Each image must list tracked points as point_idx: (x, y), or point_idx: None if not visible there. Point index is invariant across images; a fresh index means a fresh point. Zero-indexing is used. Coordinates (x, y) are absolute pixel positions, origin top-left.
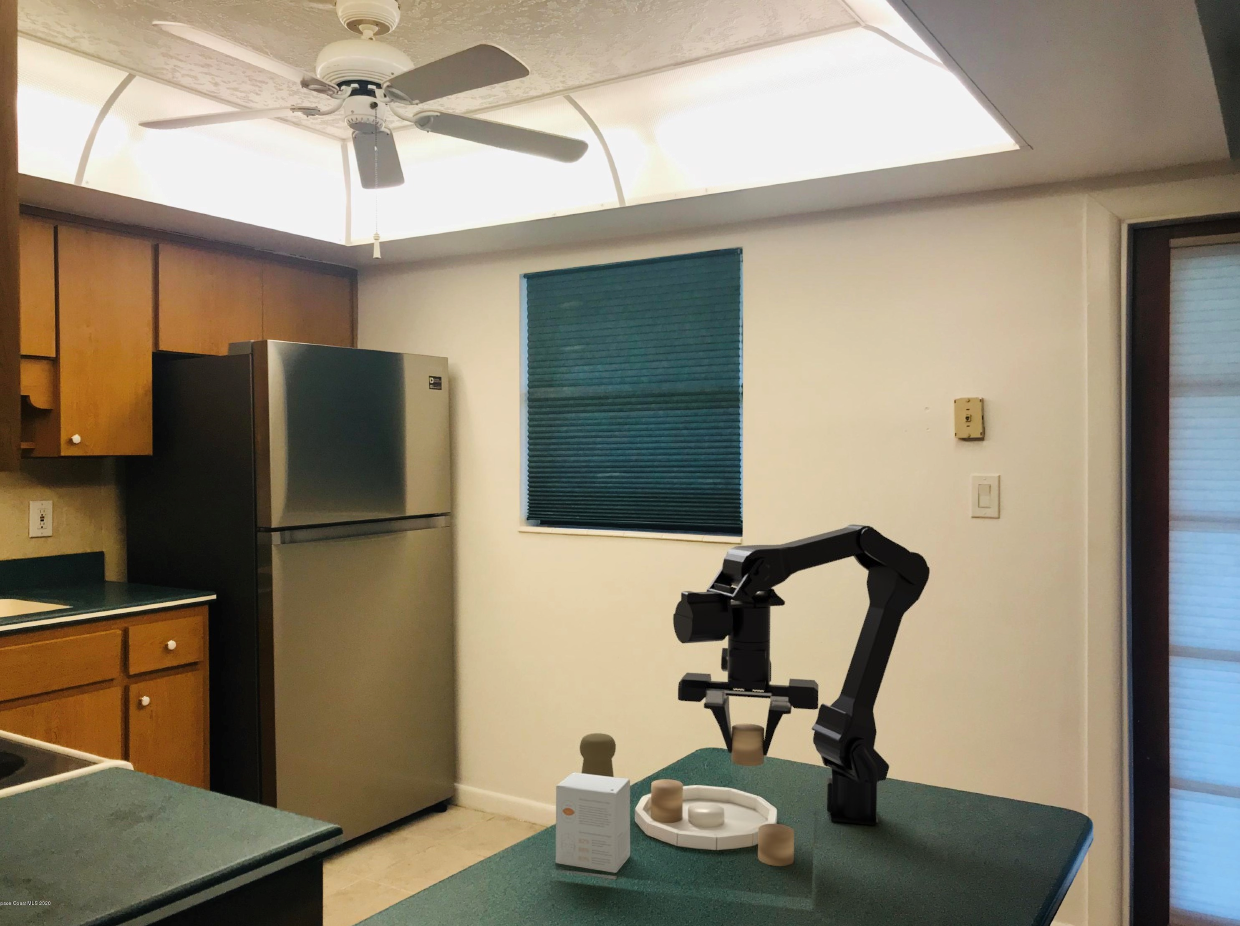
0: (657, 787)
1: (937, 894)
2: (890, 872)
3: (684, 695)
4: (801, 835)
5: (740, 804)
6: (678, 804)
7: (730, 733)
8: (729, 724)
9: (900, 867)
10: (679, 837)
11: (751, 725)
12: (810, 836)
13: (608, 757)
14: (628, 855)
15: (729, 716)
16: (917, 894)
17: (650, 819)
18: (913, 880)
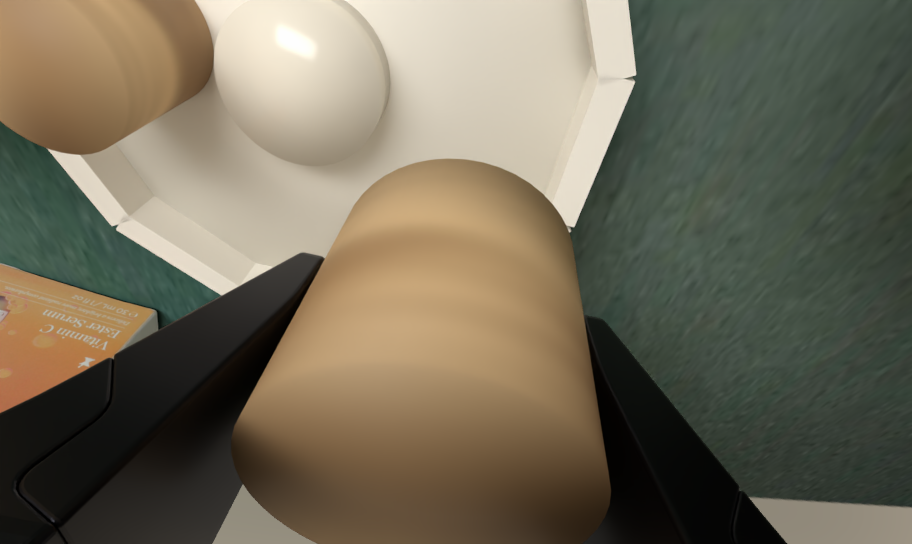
0: (13, 119)
1: (853, 448)
2: (824, 368)
3: None
4: (696, 128)
5: None
6: (167, 108)
7: None
8: (192, 500)
9: (879, 347)
10: None
11: (473, 426)
12: (728, 137)
13: None
14: (146, 334)
15: (116, 525)
16: (805, 445)
17: (112, 201)
18: (852, 401)
